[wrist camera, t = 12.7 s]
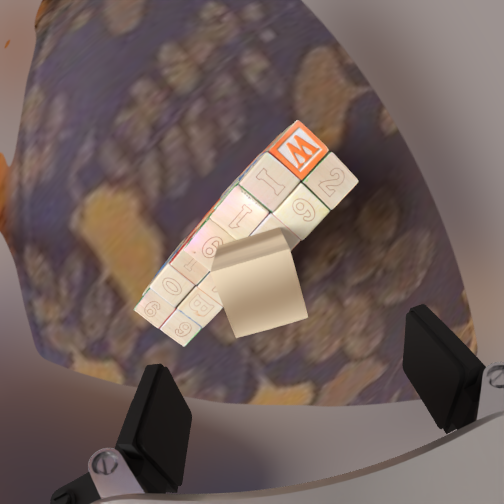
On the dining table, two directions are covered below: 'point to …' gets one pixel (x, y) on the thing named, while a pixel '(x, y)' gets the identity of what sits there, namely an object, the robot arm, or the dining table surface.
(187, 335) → the stack of blocks
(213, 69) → the dining table surface
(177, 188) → the dining table surface
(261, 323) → the tan metal block
